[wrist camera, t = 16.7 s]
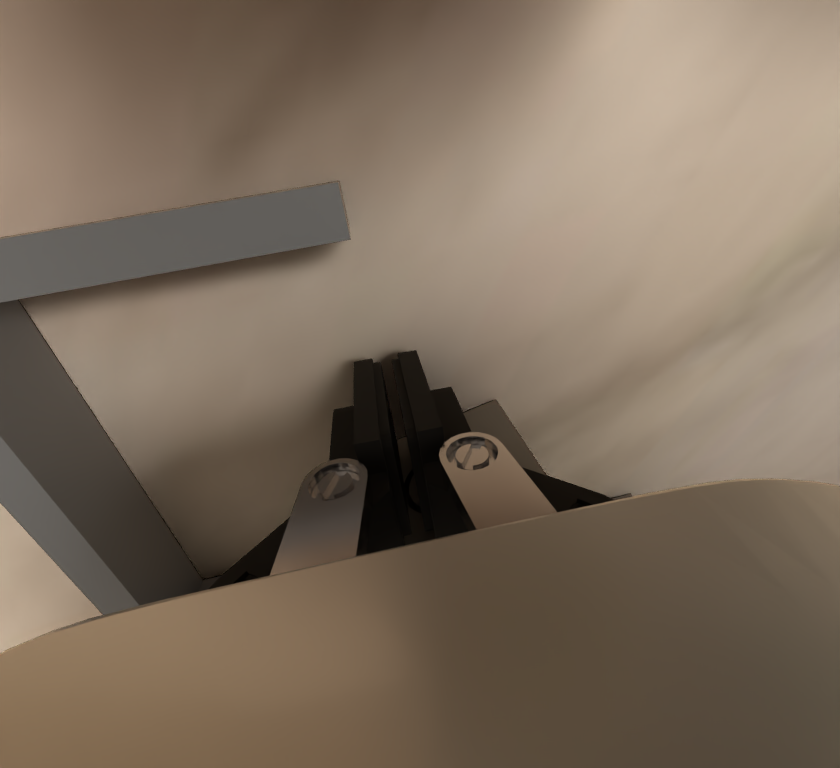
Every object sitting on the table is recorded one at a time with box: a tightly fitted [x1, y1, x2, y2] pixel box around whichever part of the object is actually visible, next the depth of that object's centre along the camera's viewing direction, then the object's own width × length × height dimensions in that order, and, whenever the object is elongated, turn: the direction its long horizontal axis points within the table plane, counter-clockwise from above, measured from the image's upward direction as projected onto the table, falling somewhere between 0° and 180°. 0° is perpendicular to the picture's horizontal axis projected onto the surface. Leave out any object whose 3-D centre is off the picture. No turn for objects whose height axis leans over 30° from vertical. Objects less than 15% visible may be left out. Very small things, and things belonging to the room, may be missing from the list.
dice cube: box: [397, 400, 546, 545], centre depth 12 cm, size 5×5×5 cm
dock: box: [0, 181, 351, 615], centre depth 11 cm, size 9×13×2 cm
